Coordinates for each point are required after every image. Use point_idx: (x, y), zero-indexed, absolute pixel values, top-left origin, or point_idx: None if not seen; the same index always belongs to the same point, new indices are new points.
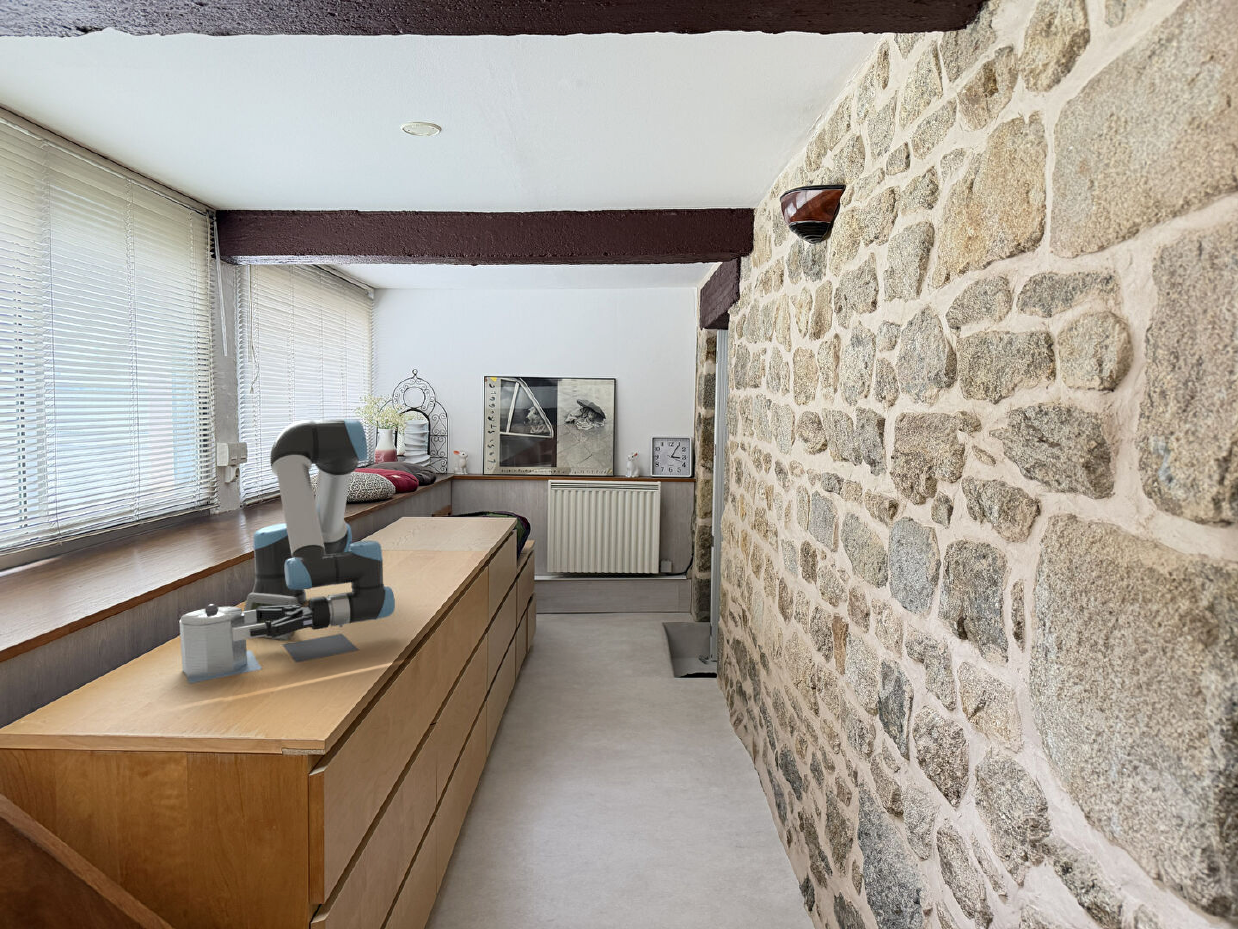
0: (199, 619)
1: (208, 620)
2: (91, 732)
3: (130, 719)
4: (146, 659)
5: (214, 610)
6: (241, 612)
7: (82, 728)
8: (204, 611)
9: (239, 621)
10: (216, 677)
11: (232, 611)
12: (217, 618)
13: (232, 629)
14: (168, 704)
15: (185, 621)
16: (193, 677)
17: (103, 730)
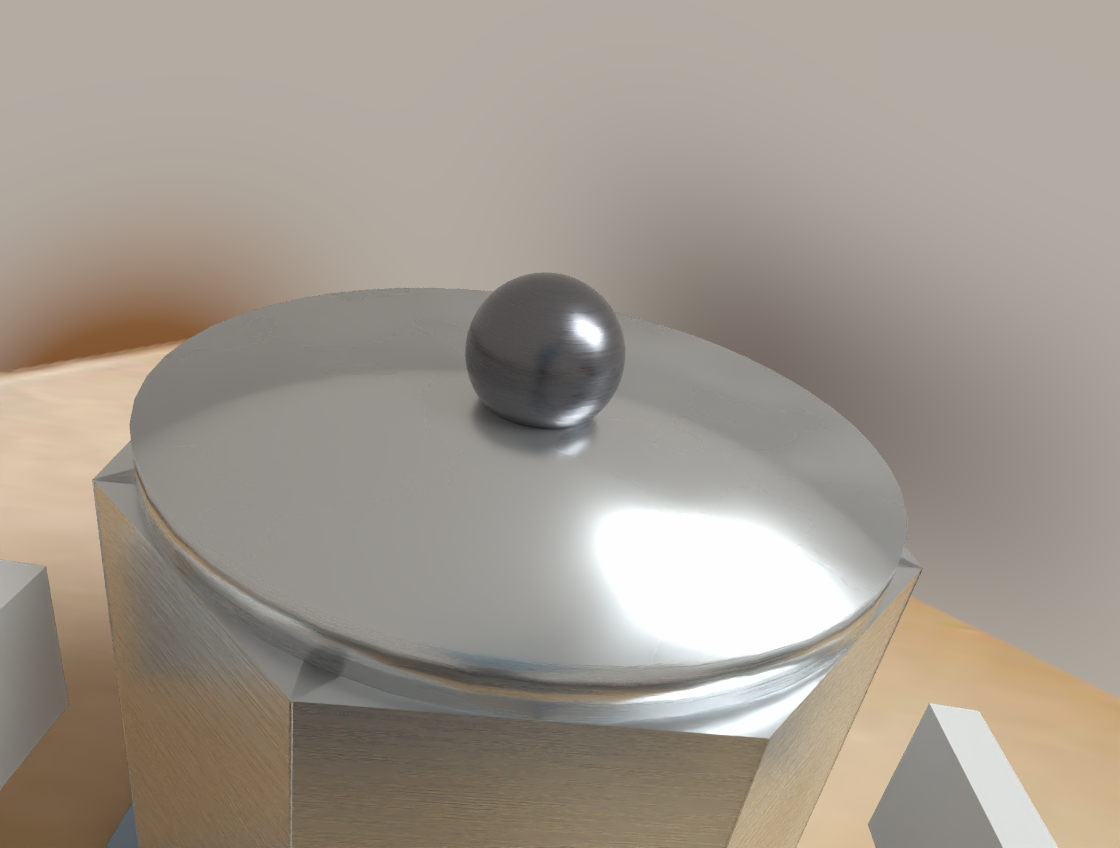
0: (381, 320)
1: (243, 327)
2: (61, 373)
3: (33, 437)
4: (963, 635)
5: (469, 346)
6: (314, 621)
7: (140, 373)
8: (725, 406)
9: (202, 666)
10: None
11: (462, 530)
12: (230, 368)
13: (5, 565)
14: (32, 538)
15: (432, 291)
16: None
17: (31, 387)
